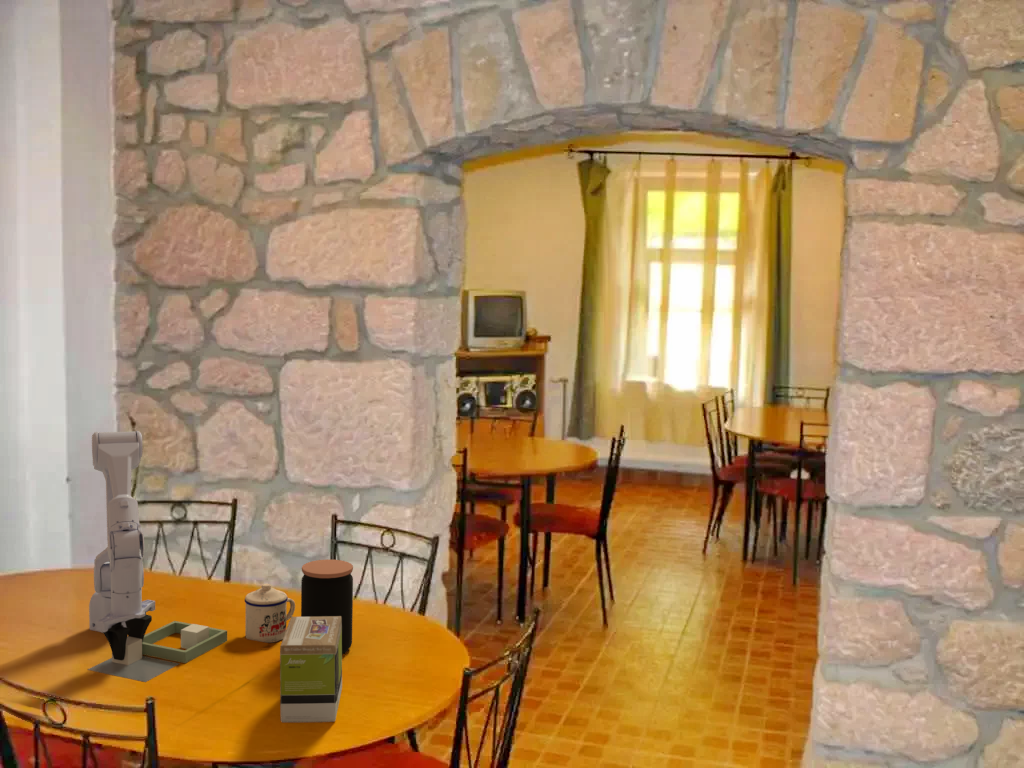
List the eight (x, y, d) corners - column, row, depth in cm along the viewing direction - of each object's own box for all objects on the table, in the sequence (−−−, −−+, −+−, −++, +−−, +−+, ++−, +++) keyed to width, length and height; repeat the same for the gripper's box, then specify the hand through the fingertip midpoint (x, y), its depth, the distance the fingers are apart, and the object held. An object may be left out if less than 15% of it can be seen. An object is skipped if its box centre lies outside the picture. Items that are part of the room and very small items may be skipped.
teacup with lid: (260, 647, 217) (261, 594, 215) (235, 636, 223) (236, 584, 221) (306, 633, 226) (307, 582, 224) (281, 623, 232) (281, 573, 230)
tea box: (290, 688, 197) (290, 614, 195) (342, 688, 197) (344, 614, 196) (278, 723, 182) (279, 643, 180) (336, 723, 183) (337, 643, 181)
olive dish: (130, 655, 210) (130, 641, 210) (174, 634, 223) (174, 620, 222) (185, 666, 205) (185, 652, 205) (227, 644, 218) (227, 630, 217)
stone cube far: (180, 648, 213) (180, 629, 213) (193, 642, 217) (193, 623, 216) (196, 651, 212) (196, 632, 211) (209, 645, 215) (208, 626, 215)
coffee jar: (361, 645, 220) (363, 563, 217) (332, 662, 210) (334, 577, 208) (320, 636, 224) (321, 556, 222) (290, 652, 214) (291, 569, 212)
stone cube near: (112, 661, 204) (111, 642, 204) (126, 654, 208) (125, 636, 208) (128, 665, 203) (127, 645, 203) (142, 658, 207) (141, 639, 206)
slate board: (87, 673, 200) (87, 669, 200) (123, 655, 210) (123, 652, 210) (145, 685, 195) (145, 681, 195) (179, 667, 205) (179, 663, 205)
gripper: (116, 603, 196) (117, 671, 197) (167, 582, 209) (167, 646, 211) (87, 597, 198) (88, 665, 200) (139, 577, 212) (139, 640, 213)
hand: (127, 655), depth 205 cm, fingers closed on stone cube near, 4 cm apart
